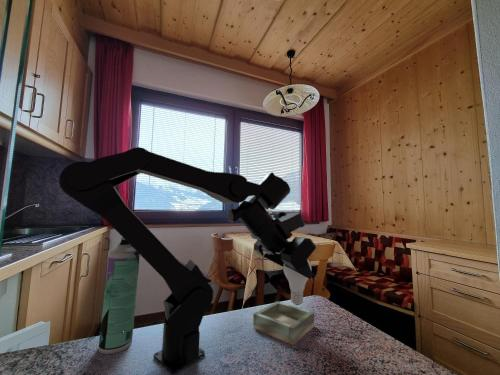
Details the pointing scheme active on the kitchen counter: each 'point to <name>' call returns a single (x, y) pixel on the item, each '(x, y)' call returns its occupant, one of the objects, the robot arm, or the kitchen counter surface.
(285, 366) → the kitchen counter surface
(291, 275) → the lightbulb
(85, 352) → the kitchen counter surface
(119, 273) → the spray can
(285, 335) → the open box
